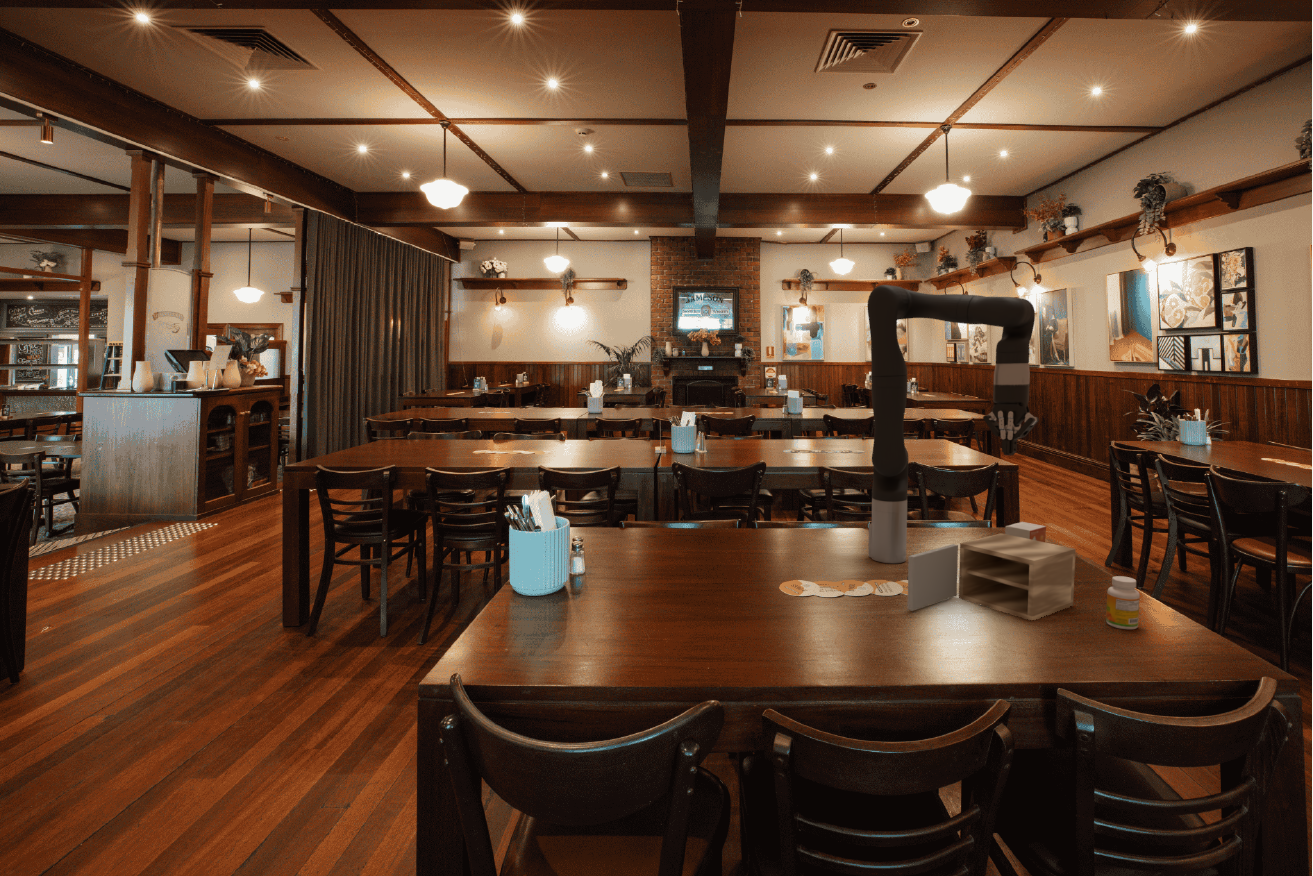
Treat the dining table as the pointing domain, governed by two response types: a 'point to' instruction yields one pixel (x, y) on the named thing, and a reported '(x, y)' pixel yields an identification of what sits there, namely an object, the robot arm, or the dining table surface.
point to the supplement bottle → (1123, 603)
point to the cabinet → (1017, 575)
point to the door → (932, 576)
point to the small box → (1027, 531)
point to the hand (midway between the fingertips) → (1008, 454)
